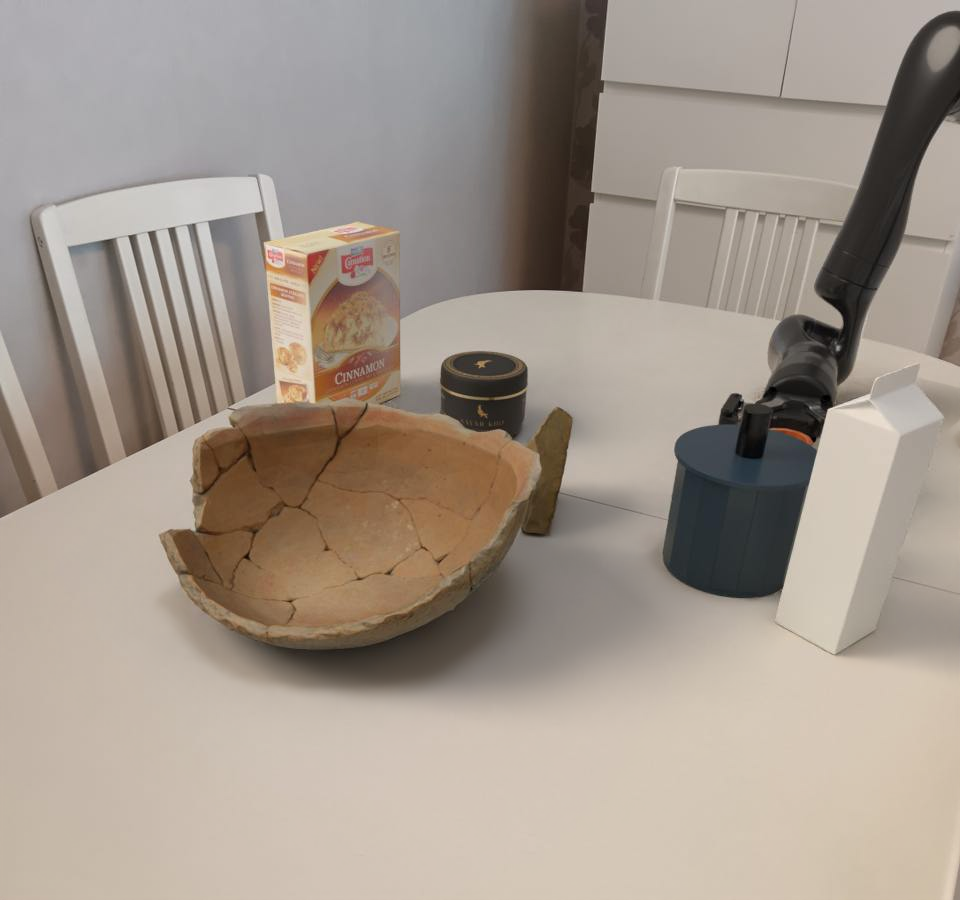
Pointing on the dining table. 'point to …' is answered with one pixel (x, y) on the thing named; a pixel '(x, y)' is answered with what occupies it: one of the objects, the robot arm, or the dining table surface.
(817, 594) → the milk
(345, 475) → the ceramic bowl
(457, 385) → the jar
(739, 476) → the pot lid
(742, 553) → the pot
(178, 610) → the dining table surface
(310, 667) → the dining table surface
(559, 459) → the rock
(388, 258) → the coffeecake box
